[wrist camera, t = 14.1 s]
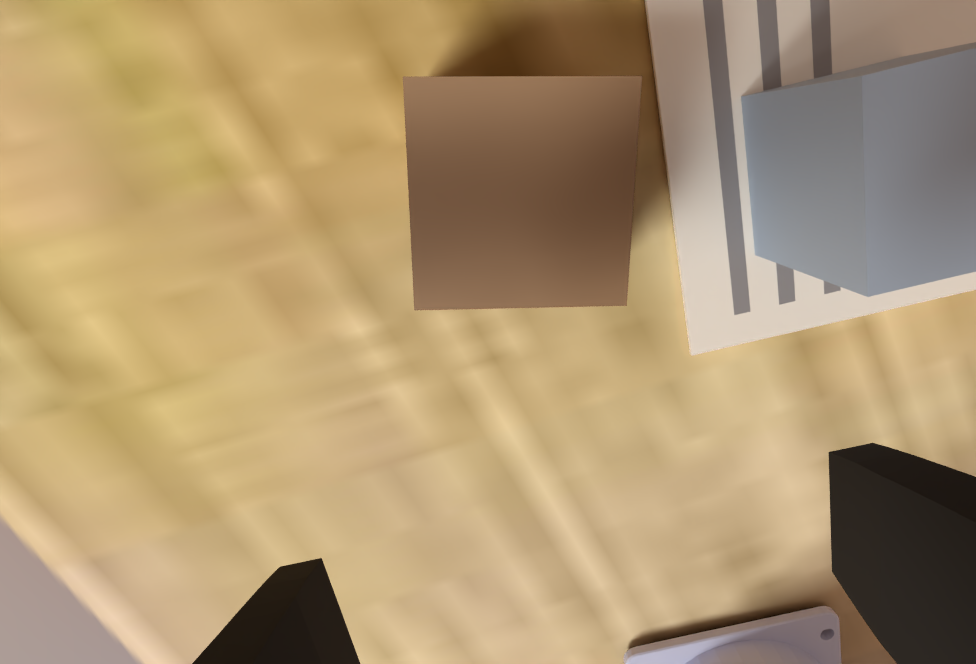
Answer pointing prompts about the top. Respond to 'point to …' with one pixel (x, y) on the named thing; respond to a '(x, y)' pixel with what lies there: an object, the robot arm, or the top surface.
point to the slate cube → (868, 172)
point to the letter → (722, 153)
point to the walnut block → (521, 189)
